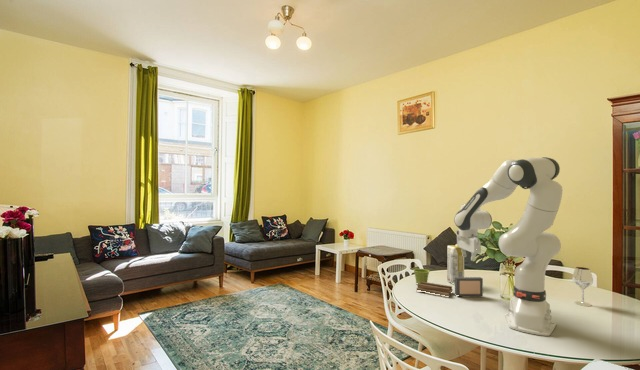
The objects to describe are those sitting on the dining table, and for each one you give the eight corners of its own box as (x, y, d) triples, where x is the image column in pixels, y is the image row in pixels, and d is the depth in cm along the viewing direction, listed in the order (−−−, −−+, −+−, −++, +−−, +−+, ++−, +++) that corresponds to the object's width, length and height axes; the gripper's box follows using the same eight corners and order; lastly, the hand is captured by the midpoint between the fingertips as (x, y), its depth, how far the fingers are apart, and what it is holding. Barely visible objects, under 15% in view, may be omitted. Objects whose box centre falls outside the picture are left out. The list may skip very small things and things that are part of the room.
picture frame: (482, 297, 174) (482, 278, 174) (457, 297, 174) (456, 278, 174) (480, 295, 176) (480, 277, 177) (454, 295, 176) (454, 277, 176)
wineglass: (597, 307, 159) (597, 270, 159) (578, 306, 161) (578, 269, 161) (587, 301, 167) (586, 266, 167) (569, 300, 169) (569, 266, 169)
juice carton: (466, 285, 196) (466, 245, 196) (454, 285, 194) (454, 245, 195) (456, 280, 205) (456, 242, 205) (445, 281, 203) (445, 243, 204)
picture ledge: (448, 297, 172) (448, 290, 172) (416, 291, 182) (416, 284, 182) (452, 292, 181) (452, 285, 181) (421, 287, 190) (421, 280, 190)
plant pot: (410, 282, 200) (411, 268, 200) (425, 282, 201) (425, 268, 201) (417, 287, 191) (417, 272, 191) (432, 286, 192) (432, 272, 192)
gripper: (484, 236, 165) (484, 263, 165) (465, 230, 186) (465, 254, 186) (472, 236, 165) (472, 263, 165) (454, 230, 186) (454, 254, 186)
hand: (468, 258), depth 176 cm, fingers open, 8 cm apart
